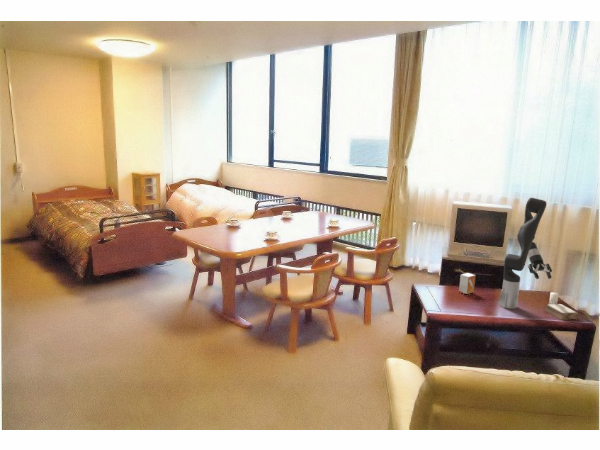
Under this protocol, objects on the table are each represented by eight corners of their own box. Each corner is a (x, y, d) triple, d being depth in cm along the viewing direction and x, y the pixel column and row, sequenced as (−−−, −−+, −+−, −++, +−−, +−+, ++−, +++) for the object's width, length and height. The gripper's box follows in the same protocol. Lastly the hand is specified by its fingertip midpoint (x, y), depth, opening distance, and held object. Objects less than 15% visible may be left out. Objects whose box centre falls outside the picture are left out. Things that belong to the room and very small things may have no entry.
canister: (552, 306, 269) (553, 294, 268) (547, 304, 274) (548, 292, 272) (558, 306, 270) (560, 294, 268) (553, 304, 274) (555, 292, 273)
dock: (561, 319, 249) (562, 313, 248) (545, 310, 263) (546, 304, 262) (577, 319, 250) (578, 312, 249) (560, 310, 264) (561, 303, 263)
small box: (466, 295, 286) (468, 276, 284) (458, 292, 292) (460, 274, 289) (474, 293, 291) (475, 275, 288) (465, 290, 296) (467, 272, 293)
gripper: (528, 254, 285) (537, 276, 276) (547, 254, 287) (557, 275, 278) (522, 259, 291) (530, 281, 282) (541, 259, 293) (550, 280, 284)
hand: (544, 278), depth 280 cm, fingers open, 8 cm apart
